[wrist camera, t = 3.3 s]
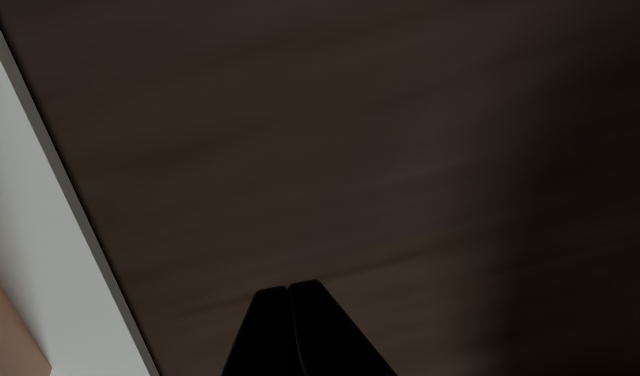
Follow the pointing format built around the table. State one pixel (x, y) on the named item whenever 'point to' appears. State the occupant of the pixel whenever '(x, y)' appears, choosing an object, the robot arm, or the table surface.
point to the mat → (56, 251)
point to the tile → (18, 345)
